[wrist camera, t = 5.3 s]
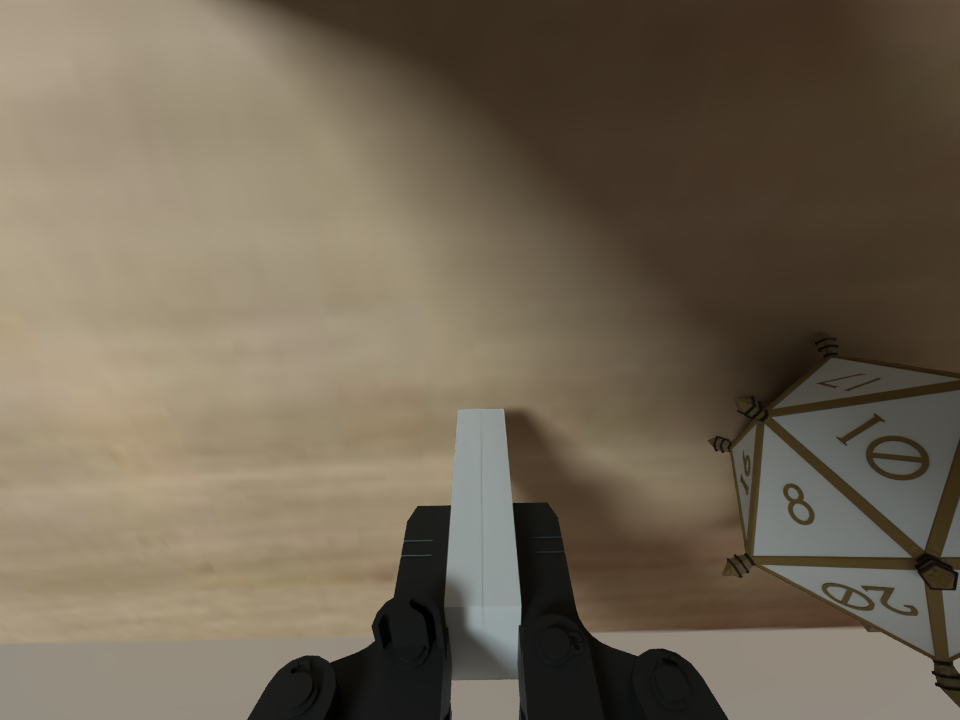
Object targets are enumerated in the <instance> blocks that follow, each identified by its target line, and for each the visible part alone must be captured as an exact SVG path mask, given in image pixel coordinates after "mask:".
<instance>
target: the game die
mask: <svg viewBox="0 0 960 720" xmlns="http://www.w3.org/2000/svg"><path fill="white" fill-rule="evenodd" d="M836 340H837V339H836V338H832V337H831V336H829V335H827V334H825V333H824V332H822V331H821V333H820V335H819V337H818V340H817V342H815V345H817V346H818V348H819V349H817V350H818V351H819V352H821V353H822V354H823V355H824V358H823V359H822V360H821V361H819V362H818V363H817V364H816V365H815V366H814V367H812V368H811V369H810V370H809V371H808V372H807V373H805V374H804V375H803V376H802V377H801V378H799V379H798V380H797V381H796V382H795V383H794V384H792V385H791V386H790V387H789V388H788V389H787V390H785V391H784V392H783V393H782V394H781V395H780V396H778V397H777V398H776V399H775V400H774V401H772V402H771V403H770V404H769V405H768V406H767V407H765V408H764V409H763V408H762V405H761V402H756V401H755V399H754V397H750V398H743V399H735V401H736V404H737V407H738V411H737V412H739V413H741V414H744V415H745V416H746V417H749V418H751V419H753V420H752V421H751V422H750V424H749V425H748V426H747V427H746V428H745V429H744V430H743V431H742V433H741V434H740V435H739V436H738V437H737V438H736V439H735V440H734V441H733V443H731V442H729V440H727V439H723V438H721V437H717V436H716V438H714V439H711V440H708V442H709V443H710V444H711V445H712V446H713V447H714V449H715V451H718V450H719V451H721V452H722V453H724V452H730V453H731V460H732V466H733V473H734V479H735V486H736V492H737V499H738V505H739V512H740V518H741V525H742V531H743V538H744V545H745V551H746V553H745V554H744V555H741V556H737V555H736V554H735V555H734V558H732V559H730V560H729V559H728V558H727V564H726V566H725V569H724V571H723V574H722V575H725V576H738V577H740V578H741V577H742V574H744V573H749V569H750V568H751V567H752V566H754V565H755V566H757V567H759V568H761V569H763V570H765V571H767V572H768V573H770V574H772V575H774V576H776V577H778V578H780V579H782V580H784V581H785V582H787V583H789V584H791V585H793V586H795V587H797V588H799V589H801V590H803V591H804V592H806V593H808V594H810V595H812V596H814V597H816V598H818V599H820V600H821V601H823V602H825V603H827V604H829V605H831V606H833V607H835V608H837V609H838V610H840V611H842V612H844V613H846V614H848V615H850V616H852V617H854V618H856V619H857V620H859V621H861V622H863V623H865V624H867V625H869V626H871V627H873V628H874V629H876V630H878V631H880V632H882V633H884V634H886V635H888V636H890V637H892V638H893V639H895V640H897V641H899V642H901V643H903V644H905V645H907V646H909V647H910V648H912V649H914V650H916V651H918V652H920V653H922V654H924V655H926V656H928V657H930V658H931V659H932V660H933V662H934V671H932V674H934V675H935V676H936V679H937V683H935V685H936V686H938V687H940V688H941V689H942V690H943V691H944V692H945V693H946V694H947V695H948V696H949V697H950V698H951V699H952V700H953V701H954V702H955V703H956V704H957V705H958V706H959V707H960V674H959V673H958V672H957V670H956V669H955V667H954V666H953V661H954V660H956V659H958V658H960V374H958V373H952V372H945V371H939V370H932V369H926V368H919V367H913V366H906V365H900V364H893V363H887V362H880V361H873V360H867V359H860V358H854V357H847V356H841V355H838V354H837V353H836V351H837V347H838V345H836V343H835V341H836Z"/></svg>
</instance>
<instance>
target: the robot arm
mask: <svg viewBox="0 0 960 720" xmlns="http://www.w3.org/2000/svg"><path fill="white" fill-rule="evenodd" d="M401 555H402V556H401V559H400V565H399V571H398V576H397V582H396V587H395V593H394V598H392V599H391V600H389V601H387V602H386V603H385V604H384V605H383V607H382V608H381V609H380V610H379V611H378V612H377V614H376V617H375V619H374V622H373V624H372V630H373V634H374V638H375V641H374V642H373V643H372V644H371V645H369V646H368V647H367V648H365V649H363V650H361V651H359V652H357V653H355V654H352V655H350V656H347V657H344V658H341V659H339V660H336V661H333V662H331V663H329V662H328V661H327V660H325V659H323V658H321V657H320V656H303V657H301V658H297V659H295V660H292V661H291V662H289V663H288V664H287V665H285V666H284V667H283V668H281V669H280V670H279V671H278V672H277V673H276V675H275V676H274V677H273V678H272V680H271V681H270V682H269V684H268V685H267V687H266V688H265V690H264V692H263V693H262V695H261V697H260V699H259V700H258V702H257V704H256V705H255V707H254V709H253V711H252V712H251V714H250V716H249V717H248V719H247V720H451V719H452V718H451V717H452V711H451V703H450V700H451V679H452V680H500V679H518V680H519V692H520V693H519V694H520V710H519V720H728V718H727V716H726V715H725V713H724V712H723V710H722V708H721V707H720V705H719V704H718V702H717V700H716V699H715V697H714V696H713V694H712V693H711V691H710V689H709V687H708V686H707V684H706V683H705V681H704V679H703V678H702V676H701V675H700V674H699V673H698V671H697V670H696V669H695V668H694V667H693V665H692V664H691V663H690V662H688V661H687V660H686V659H684V658H683V657H681V656H680V655H678V654H677V653H675V652H672V651H668V650H666V649H649V650H648V651H646V652H644V653H643V654H641V655H639V657H638V656H635V655H632V654H629V653H627V652H624V651H620V650H617V649H614V648H612V647H610V646H607V645H605V644H603V643H601V642H599V641H598V640H597V639H596V638H594V637H593V636H592V635H591V634H590V633H589V632H588V631H587V630H586V628H585V627H584V626H583V624H582V622H581V620H580V619H579V616H578V613H577V610H576V606H575V601H574V596H573V591H572V586H571V581H570V576H569V571H568V566H567V561H566V556H565V553H564V546H563V541H562V538H561V531H560V526H559V521H558V517H557V516H556V514H555V513H554V512H553V510H552V509H551V507H550V506H549V504H548V503H512V494H511V482H510V471H509V460H508V449H507V437H506V426H505V415H504V409H460V410H458V418H457V432H456V446H455V460H454V474H453V488H452V502H451V505H448V506H417V508H416V509H415V511H414V512H413V514H412V515H411V517H410V518H409V520H408V521H407V526H406V531H405V537H404V543H403V548H402V554H401Z"/></svg>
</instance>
